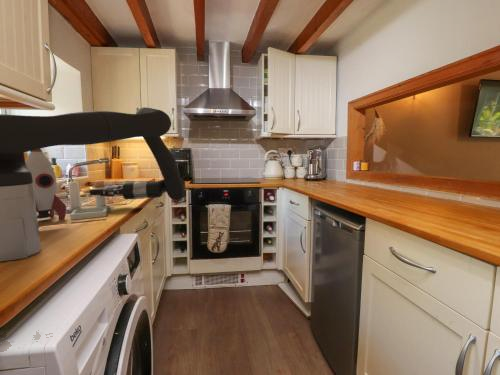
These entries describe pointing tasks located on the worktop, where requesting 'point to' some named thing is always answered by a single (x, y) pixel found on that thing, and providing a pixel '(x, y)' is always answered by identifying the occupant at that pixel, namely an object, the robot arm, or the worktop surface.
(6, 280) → the worktop surface
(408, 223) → the worktop surface
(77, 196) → the cylinder
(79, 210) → the tray
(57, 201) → the toy
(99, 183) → the cylinder
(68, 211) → the holder
